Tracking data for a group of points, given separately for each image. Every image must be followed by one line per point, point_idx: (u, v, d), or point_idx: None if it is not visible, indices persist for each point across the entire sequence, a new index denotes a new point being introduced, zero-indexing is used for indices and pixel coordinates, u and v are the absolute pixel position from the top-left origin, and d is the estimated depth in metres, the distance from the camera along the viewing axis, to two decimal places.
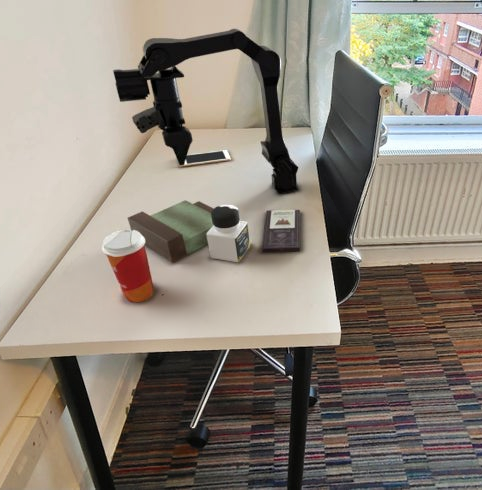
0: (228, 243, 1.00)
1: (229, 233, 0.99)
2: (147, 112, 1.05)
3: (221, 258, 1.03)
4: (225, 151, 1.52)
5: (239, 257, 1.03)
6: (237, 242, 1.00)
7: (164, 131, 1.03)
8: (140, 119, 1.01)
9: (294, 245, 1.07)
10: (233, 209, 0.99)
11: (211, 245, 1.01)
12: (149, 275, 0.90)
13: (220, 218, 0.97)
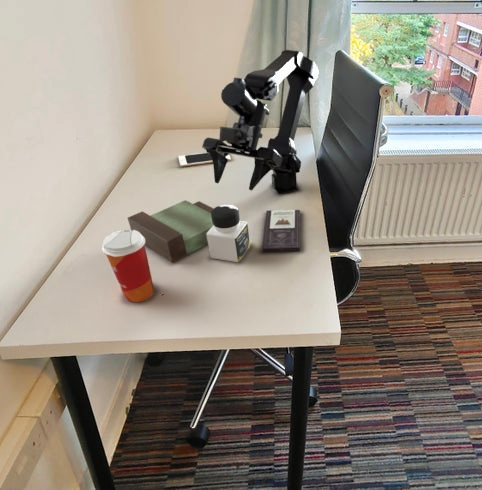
0: (228, 243, 1.00)
1: (229, 233, 0.99)
2: None
3: (221, 258, 1.03)
4: None
5: (239, 257, 1.03)
6: (237, 242, 1.00)
7: (263, 147, 1.02)
8: (249, 128, 0.98)
9: (294, 245, 1.07)
10: (233, 209, 0.99)
11: (211, 245, 1.01)
12: (149, 275, 0.90)
13: (220, 217, 0.97)
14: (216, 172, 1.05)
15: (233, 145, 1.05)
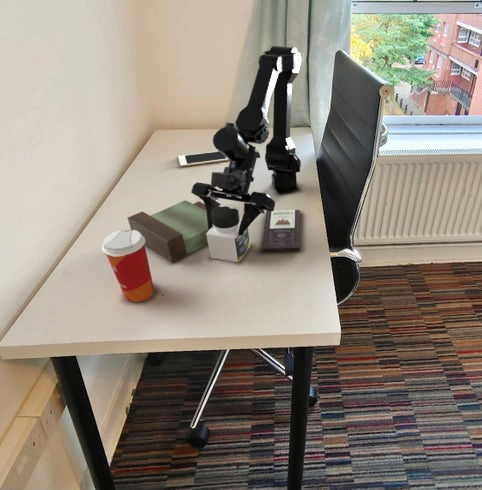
0: (228, 243, 1.00)
1: (229, 233, 0.99)
2: (228, 173, 0.98)
3: (221, 258, 1.03)
4: None
5: (239, 257, 1.03)
6: (237, 242, 1.00)
7: (256, 192, 0.99)
8: (242, 173, 0.95)
9: (294, 245, 1.07)
10: (233, 209, 0.99)
11: (211, 245, 1.01)
12: (149, 275, 0.90)
13: (220, 218, 0.97)
14: (209, 218, 1.01)
15: (224, 190, 1.01)
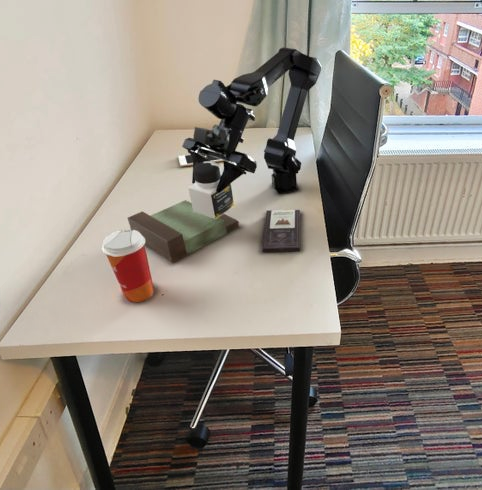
0: (205, 198, 1.02)
1: (207, 189, 1.02)
2: (213, 130, 1.00)
3: (201, 213, 1.06)
4: None
5: (217, 214, 1.05)
6: (214, 198, 1.02)
7: (236, 152, 1.00)
8: (222, 130, 0.97)
9: (294, 245, 1.07)
10: (214, 166, 1.01)
11: (192, 199, 1.05)
12: (149, 275, 0.90)
13: (198, 172, 1.00)
14: None
15: (211, 147, 1.04)
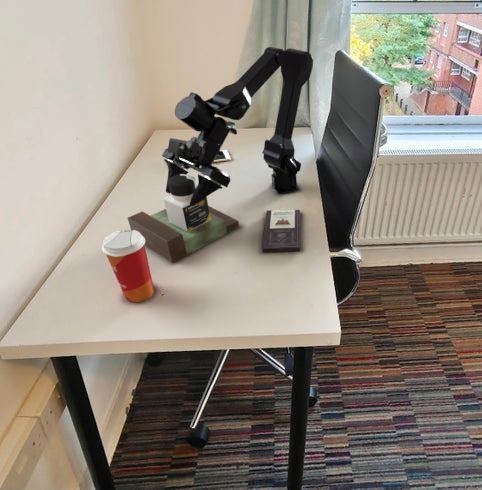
0: (178, 211, 1.03)
1: (181, 202, 1.02)
2: None
3: (176, 225, 1.07)
4: (225, 151, 1.52)
5: (190, 227, 1.05)
6: (185, 212, 1.02)
7: (209, 165, 0.99)
8: (194, 143, 0.97)
9: (294, 245, 1.07)
10: (188, 179, 1.02)
11: (167, 210, 1.05)
12: (149, 275, 0.90)
13: (171, 185, 1.00)
14: None
15: (188, 158, 1.04)
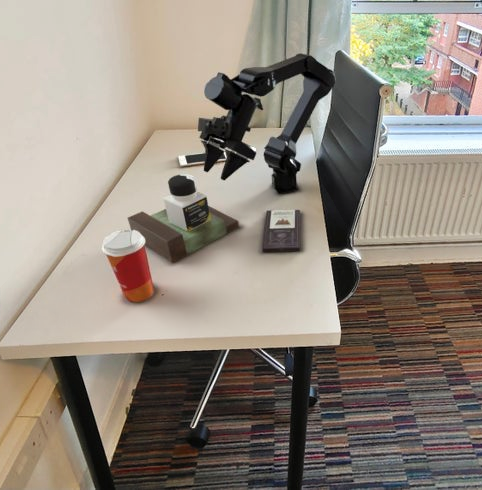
0: (178, 211, 1.03)
1: (181, 202, 1.02)
2: None
3: (176, 225, 1.07)
4: None
5: (190, 227, 1.05)
6: (185, 212, 1.02)
7: (234, 139, 1.04)
8: (218, 119, 1.02)
9: (294, 245, 1.07)
10: (188, 179, 1.02)
11: (167, 210, 1.05)
12: (149, 275, 0.90)
13: (171, 185, 1.00)
14: (205, 161, 1.12)
15: (220, 137, 1.10)
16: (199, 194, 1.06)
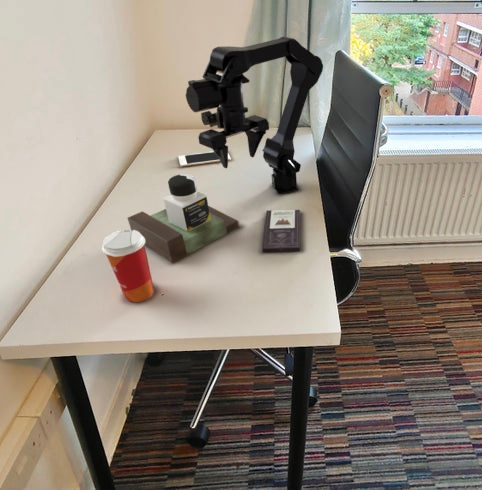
0: (178, 211, 1.03)
1: (181, 202, 1.02)
2: None
3: (176, 225, 1.07)
4: None
5: (190, 227, 1.05)
6: (185, 212, 1.02)
7: None
8: (201, 114, 1.10)
9: (294, 245, 1.07)
10: (188, 179, 1.02)
11: (167, 210, 1.05)
12: (149, 275, 0.90)
13: (171, 185, 1.00)
14: None
15: None
16: (199, 194, 1.06)
